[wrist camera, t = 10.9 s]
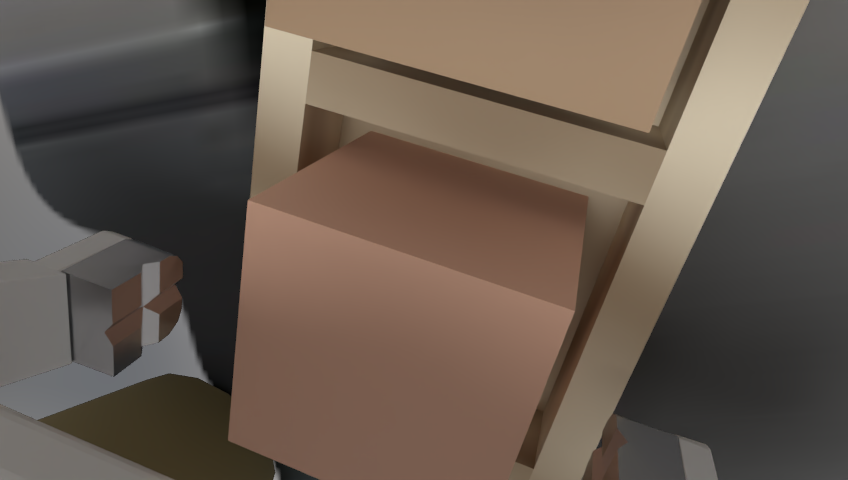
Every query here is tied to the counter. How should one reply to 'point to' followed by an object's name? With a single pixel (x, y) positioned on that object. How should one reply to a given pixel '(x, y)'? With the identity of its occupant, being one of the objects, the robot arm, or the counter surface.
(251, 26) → the counter surface
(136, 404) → the squeeze bottle
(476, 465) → the terracotta cube
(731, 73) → the block rack
